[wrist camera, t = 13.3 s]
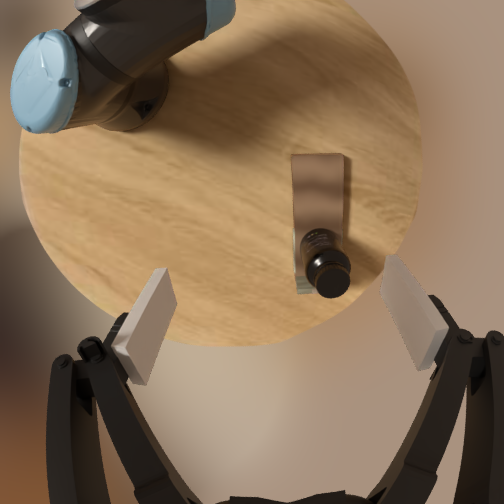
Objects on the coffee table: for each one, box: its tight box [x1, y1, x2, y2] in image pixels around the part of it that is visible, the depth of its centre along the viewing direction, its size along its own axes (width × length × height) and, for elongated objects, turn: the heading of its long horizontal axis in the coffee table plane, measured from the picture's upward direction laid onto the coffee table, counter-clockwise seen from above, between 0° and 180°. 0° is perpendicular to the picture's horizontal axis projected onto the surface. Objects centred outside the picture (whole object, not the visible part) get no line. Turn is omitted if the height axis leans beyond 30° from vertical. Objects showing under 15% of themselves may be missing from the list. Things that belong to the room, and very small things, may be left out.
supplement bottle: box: [300, 228, 351, 298], centre depth 41 cm, size 7×7×12 cm
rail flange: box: [291, 153, 344, 294], centre depth 43 cm, size 22×8×6 cm, turn 5°
